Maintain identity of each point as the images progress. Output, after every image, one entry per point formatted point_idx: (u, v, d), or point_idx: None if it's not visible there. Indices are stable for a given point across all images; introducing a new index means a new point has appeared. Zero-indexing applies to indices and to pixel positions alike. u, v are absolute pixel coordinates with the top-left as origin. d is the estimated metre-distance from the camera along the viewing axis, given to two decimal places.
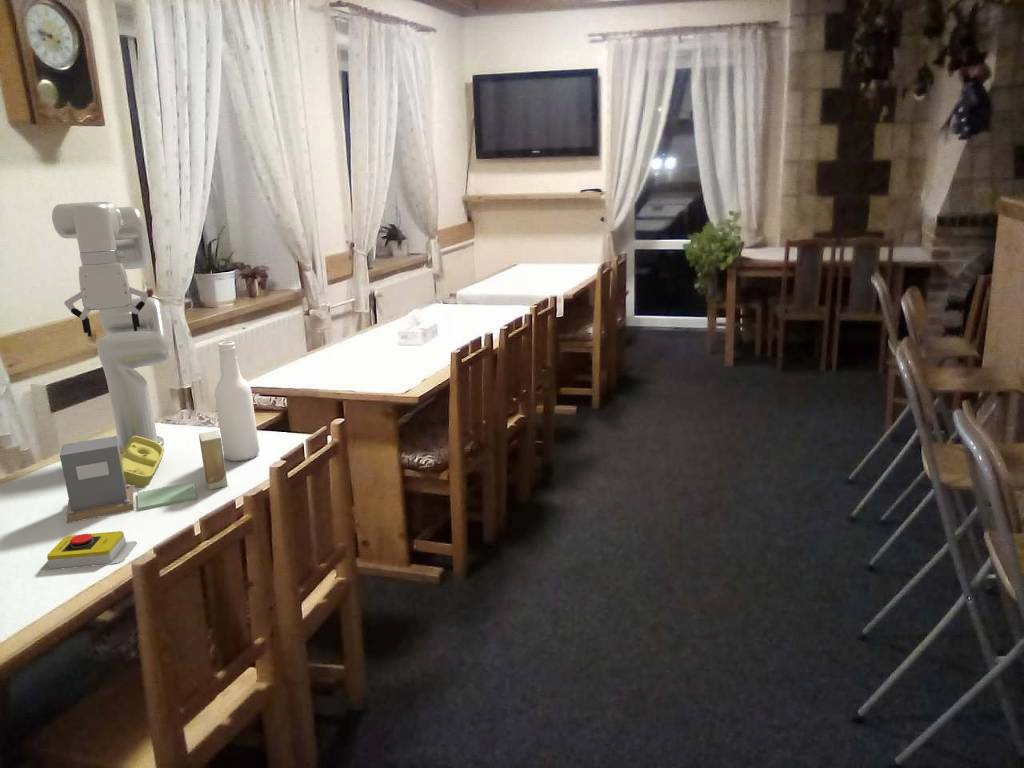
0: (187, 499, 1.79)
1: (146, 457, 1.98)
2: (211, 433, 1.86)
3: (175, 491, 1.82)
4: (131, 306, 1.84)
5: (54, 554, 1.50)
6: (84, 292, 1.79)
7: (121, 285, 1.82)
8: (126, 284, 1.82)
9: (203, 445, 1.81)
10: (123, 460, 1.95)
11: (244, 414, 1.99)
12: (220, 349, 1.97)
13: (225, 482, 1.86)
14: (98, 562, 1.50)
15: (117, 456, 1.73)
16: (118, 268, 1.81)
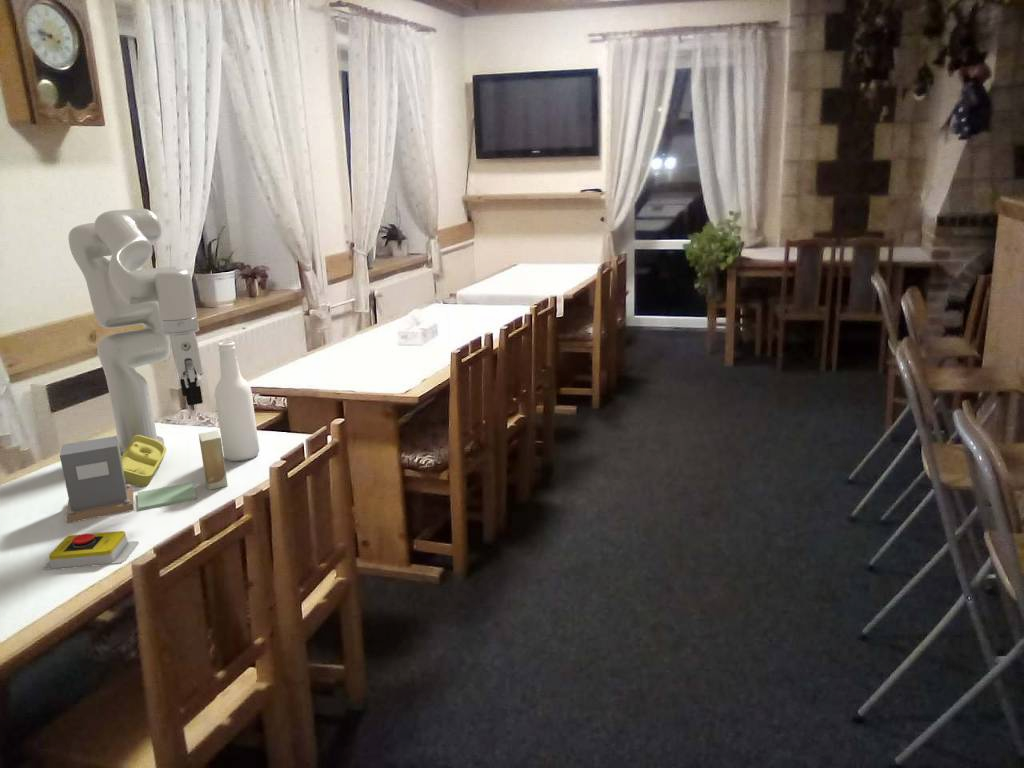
0: (187, 499, 1.79)
1: (148, 456, 1.98)
2: (211, 433, 1.86)
3: (175, 491, 1.82)
4: (184, 379, 1.75)
5: (56, 554, 1.50)
6: None
7: (175, 356, 1.75)
8: (177, 357, 1.74)
9: (203, 445, 1.81)
10: (125, 459, 1.96)
11: (244, 414, 1.99)
12: (220, 349, 1.97)
13: (225, 482, 1.86)
14: (100, 562, 1.50)
15: (117, 456, 1.73)
16: (173, 339, 1.74)
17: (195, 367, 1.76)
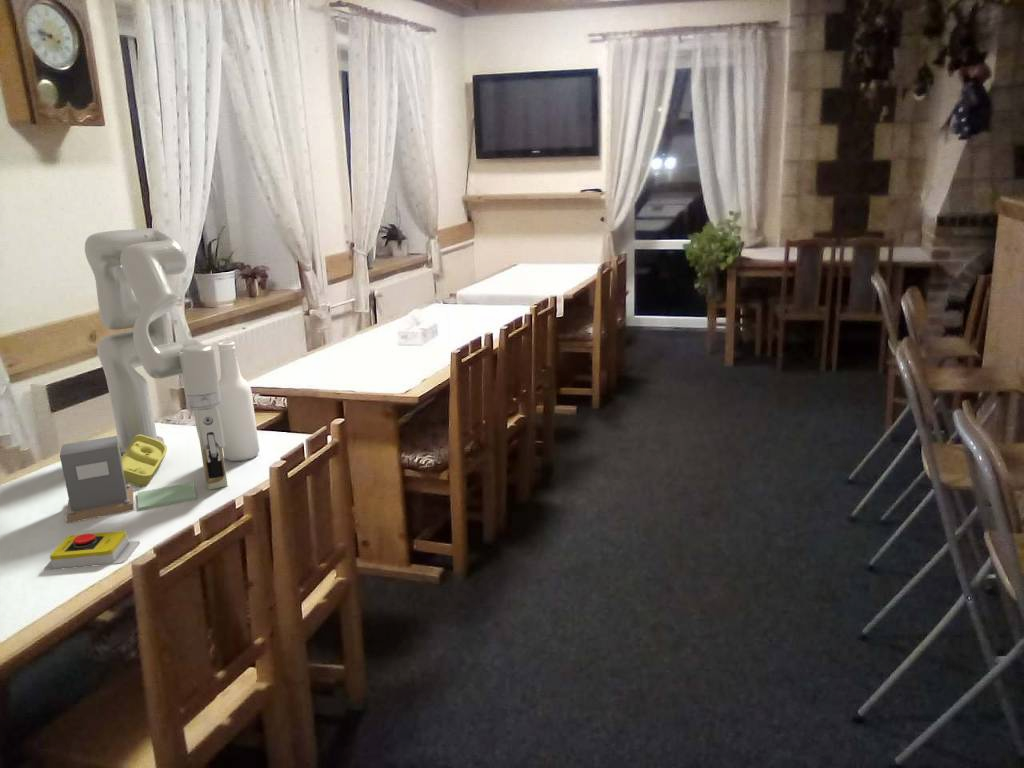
0: (187, 499, 1.79)
1: (148, 456, 1.98)
2: None
3: (175, 491, 1.82)
4: None
5: (57, 554, 1.50)
6: None
7: (198, 430, 1.80)
8: (200, 431, 1.79)
9: None
10: (125, 459, 1.96)
11: (244, 414, 1.99)
12: (220, 349, 1.97)
13: (225, 482, 1.86)
14: (101, 562, 1.50)
15: (117, 456, 1.73)
16: (196, 414, 1.79)
17: (217, 444, 1.81)
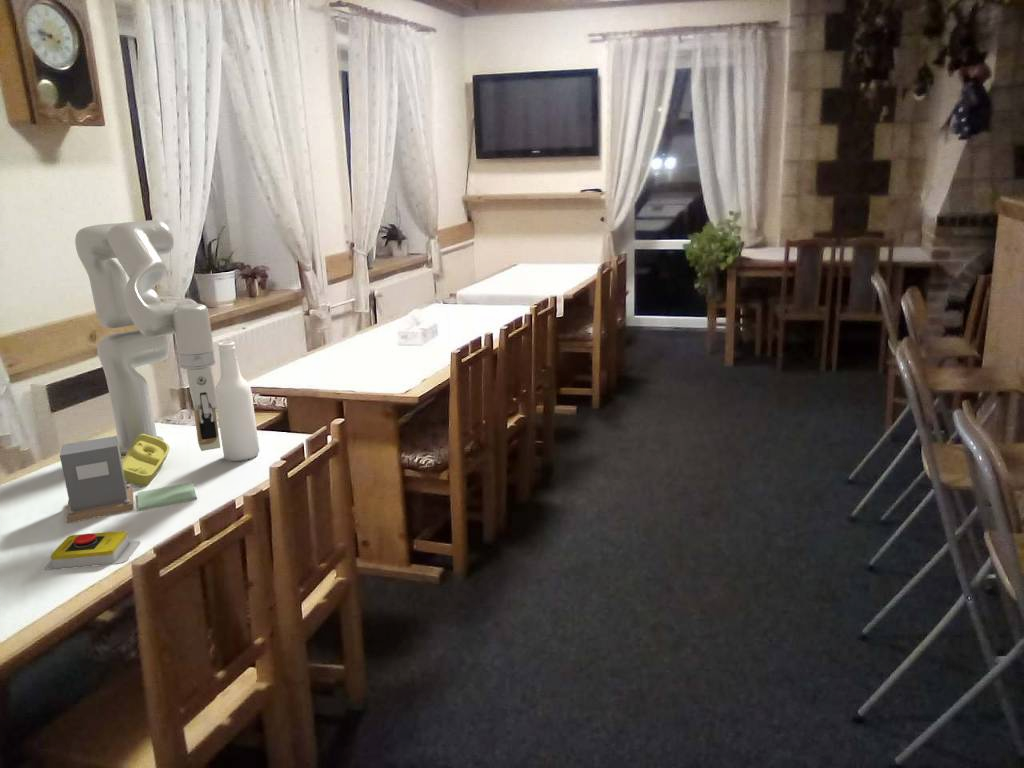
0: (187, 499, 1.79)
1: (150, 456, 1.98)
2: None
3: (175, 491, 1.82)
4: (199, 414, 1.79)
5: (58, 554, 1.50)
6: None
7: (191, 390, 1.77)
8: (193, 390, 1.77)
9: None
10: (127, 458, 1.96)
11: (244, 414, 1.99)
12: (220, 349, 1.97)
13: (218, 444, 1.84)
14: (102, 562, 1.50)
15: (117, 456, 1.73)
16: (189, 374, 1.76)
17: (210, 404, 1.79)
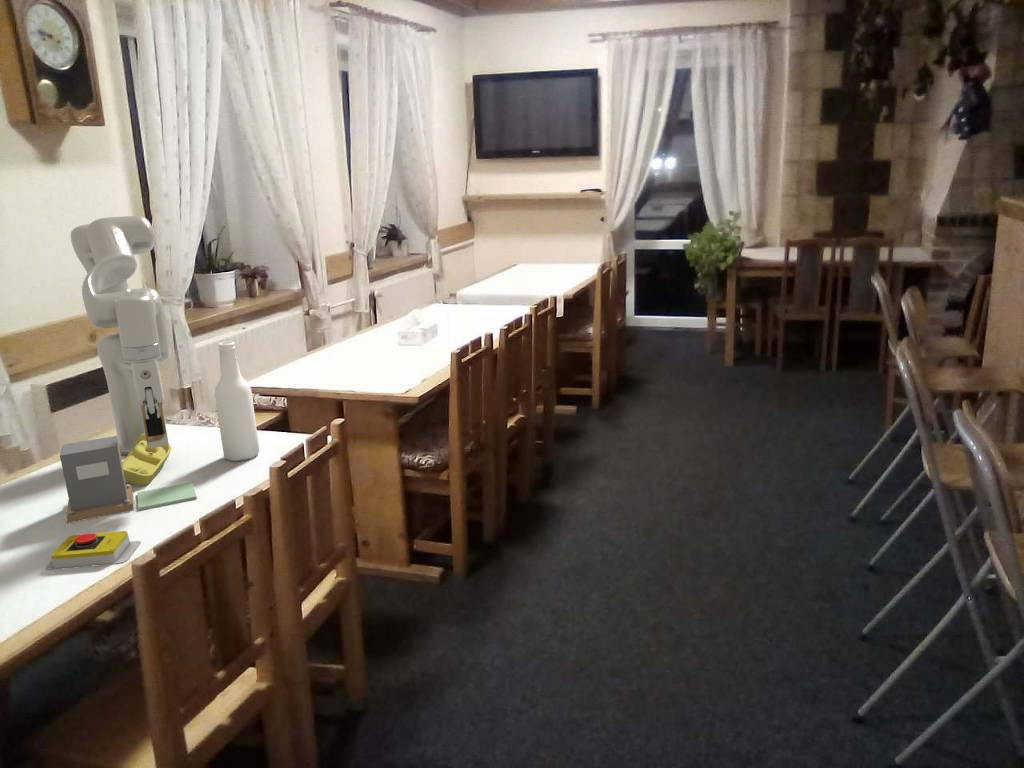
0: (187, 499, 1.79)
1: (152, 455, 1.98)
2: (151, 389, 1.76)
3: (175, 491, 1.82)
4: None
5: (58, 554, 1.50)
6: None
7: (135, 384, 1.70)
8: (137, 385, 1.69)
9: None
10: (129, 458, 1.96)
11: (244, 414, 1.99)
12: (220, 349, 1.97)
13: (166, 441, 1.76)
14: (102, 562, 1.50)
15: (117, 456, 1.73)
16: (133, 367, 1.69)
17: (156, 399, 1.71)
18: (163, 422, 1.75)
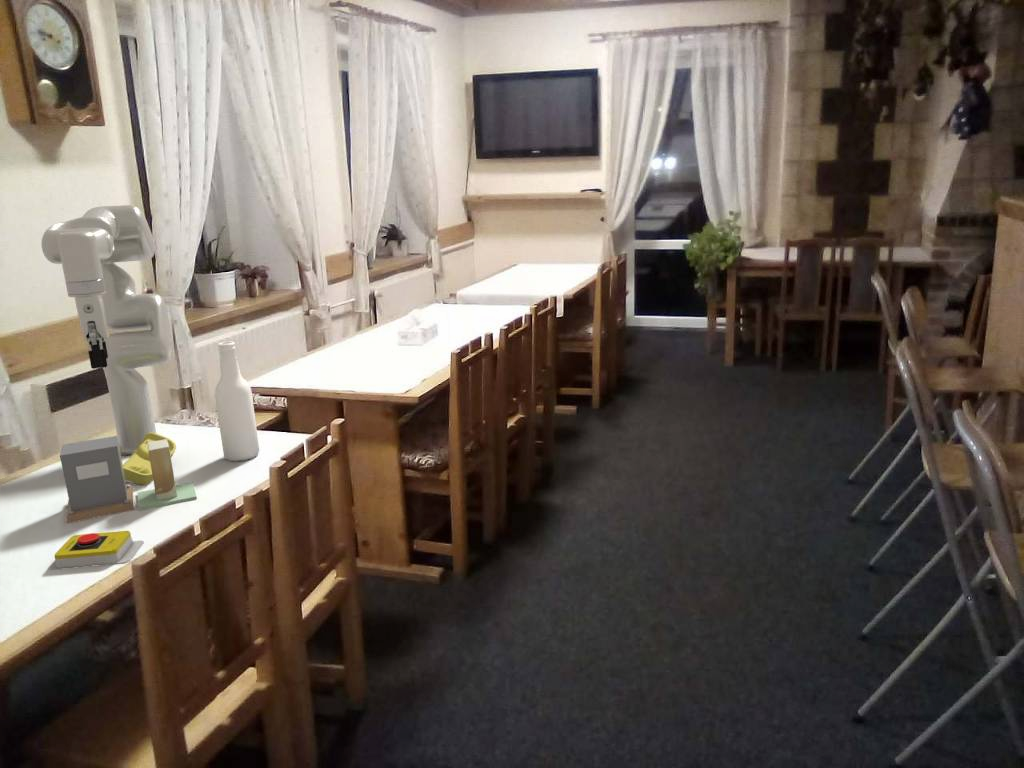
0: (187, 499, 1.79)
1: None
2: (160, 442, 1.79)
3: None
4: None
5: (61, 553, 1.50)
6: None
7: (79, 319, 1.73)
8: (80, 319, 1.73)
9: (150, 454, 1.75)
10: (133, 456, 1.97)
11: (244, 414, 1.99)
12: (220, 349, 1.97)
13: (174, 492, 1.79)
14: (105, 561, 1.50)
15: (117, 456, 1.73)
16: (76, 302, 1.72)
17: (99, 330, 1.74)
18: (172, 474, 1.78)
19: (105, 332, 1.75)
